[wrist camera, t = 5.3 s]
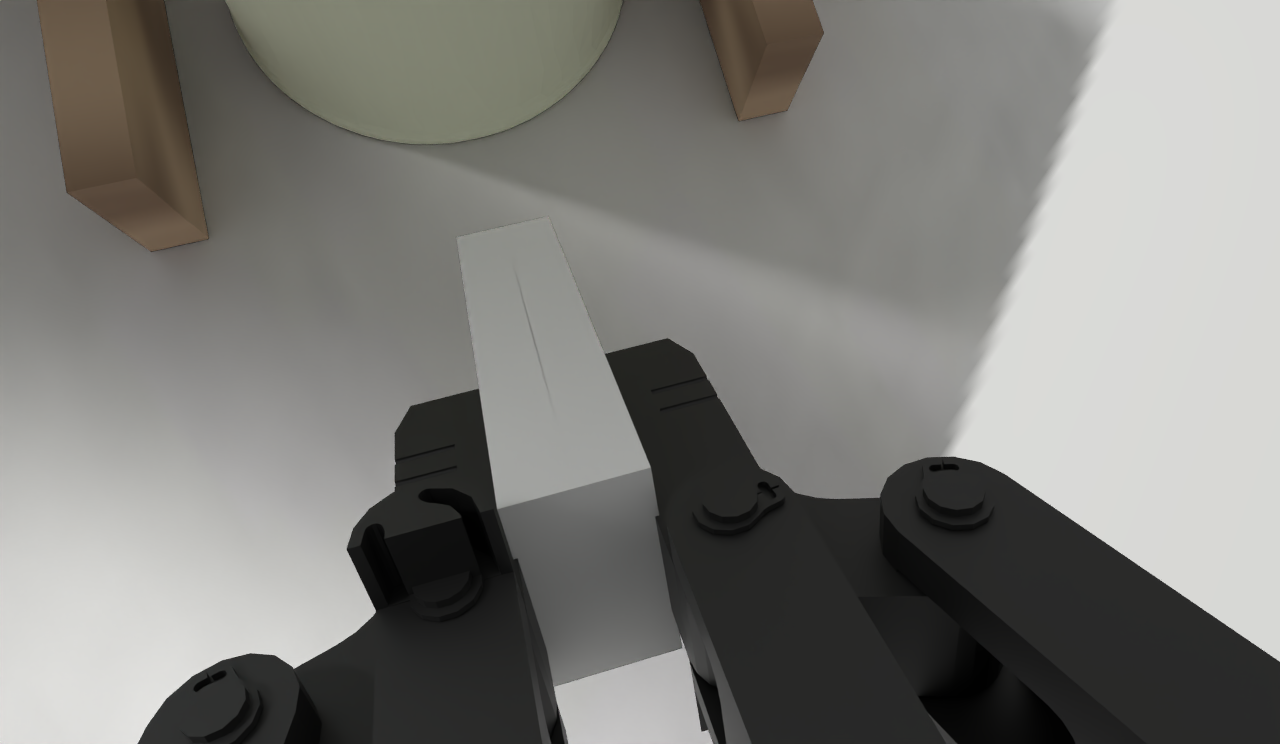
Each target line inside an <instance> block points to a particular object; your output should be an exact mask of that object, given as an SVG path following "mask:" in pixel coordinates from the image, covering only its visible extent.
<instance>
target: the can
mask: <svg viewBox="0 0 1280 744" xmlns="http://www.w3.org/2000/svg"><path fill="white" fill-rule="evenodd" d="M225 2H226V4H227V6H228V7H229V11H230V14H231V17H232V20H233V22H234V24H235V26H236V29H237V31H238V33H239V35H240V37H241V39H242V41H243V43H244V45H245V47H246V48H247V50H248V52H249V53H250V55H251V56H252V58H253V59H254V60H255V62H256V63H257V64H258V66H259V67H260V68H261V70H262V71H263V72H264V73H265V74H266V75H267V77H268V78H269V79H270V80H271V81H272V82H273V83H274V84H275V85H276V86H277V87H278V88H279V89H280V90H281V91H283V92H284V93H285V94H286V95H288V96H289V97H290V98H291V99H293V100H294V101H295V102H296V103H298V104H299V105H301V106H302V107H304V108H305V109H307V110H308V111H310V112H312V113H313V114H315V115H317V116H319V117H321V118H323V119H324V120H326V121H328V122H330V123H332V124H334V125H336V126H339V127H342V128H344V129H347V130H350V131H353V132H355V133H358V134H361V135H364V136H368V137H372V138H376V139H380V140H386V141H393V142H399V143H406V144H444V143H454V142H460V141H466V140H472V139H478V138H481V137H485V136H488V135H492V134H495V133H498V132H501V131H505V130H508V129H510V128H512V127H514V126H517V125H519V124H521V123H523V122H525V121H527V120H530V119H531V118H533V117H535V116H536V115H538V114H540V113H541V112H543V111H545V110H546V109H548V108H549V107H551V106H552V105H554V104H555V103H556V102H558V101H559V100H560V99H562V98H563V97H564V96H565V95H566V94H567V93H569V92H570V91H571V90H572V89H573V88H574V87H575V86H576V85H577V84H578V83H579V82H580V81H581V80H582V79H583V78H584V77H585V75H586V74H587V73H588V72H589V71H590V69H591V68H592V67H593V65H594V64H595V63H596V61H597V60H598V59H599V57H600V55H601V54H602V52H603V50H604V49H605V47H606V46H607V44H608V42H609V40H610V37H611V35H612V33H613V31H614V29H615V26H616V23H617V20H618V18H619V14H620V10H621V6H622V3H623V0H225Z"/></svg>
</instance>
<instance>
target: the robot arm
mask: <svg viewBox="0 0 1280 744" xmlns="http://www.w3.org/2000/svg"><path fill="white" fill-rule="evenodd" d="M456 240H457V246H458V253H459V259H460V266H461V273H462V279H463V286H464V293H465V299H466V306H467V313H468V319H469V326H470V332H471V339H472V346H473V352H474V359H475V366H476V372H477V379H478V385H479V389H476V390H472V391H468V392H464V393H460V394H456V395H453V396H449V397H445V398H441V399H437V400H433V401H429V402H425V403H421V404H417V405H413V406H411V407H410V408H409V410H408V412H407V413H406V415H405V417H404V418H403V420H402V422H401V424H400V425H399V427H398V429H397V430H396V432H395V462H396V465H395V484H396V487H395V492H393V493H392V494H390V495H389V496H387V497H386V498H384V499H383V500H381V501H380V502H379V503H377V504H376V505H374V506H373V507H371V508H370V509H369V510H368V511H367V513H366V514H365V515H364V516H363V517H362V519H361V520H360V521H359V522H358V523H357V525H356V526H355V527H354V528H353V531H352V534H351V537H350V540H349V543H348V546H347V551H348V553H349V555H350V557H351V559H352V561H353V564H354V566H355V568H356V570H357V572H358V574H359V576H360V578H361V580H362V582H363V584H364V587H365V589H366V591H367V593H368V595H369V597H370V599H371V601H372V603H373V605H374V607H375V610H376V613H375V614H374V616H373V617H372V618H371V619H370V620H369V621H368V622H366V623H365V624H364V625H363V626H362V627H361V628H360V629H359V630H358V631H357V632H356V633H354V634H353V635H351V636H350V637H348V638H347V639H345V640H344V641H342V642H341V643H339V644H338V645H336V646H334V647H332V648H331V649H329V650H327V651H325V652H323V653H322V654H320V655H318V656H316V657H315V658H313V659H311V660H309V661H307V662H306V663H304V664H302V665H300V666H298V667H297V668H295V669H293V667H292V666H290V665H289V664H287V663H286V662H284V661H283V660H281V659H279V658H278V657H276V656H275V655H263V654H251V653H250V654H246V655H242V656H238V657H234V658H230V659H226V660H222V661H220V662H218V663H216V664H215V665H213V666H211V667H209V668H207V669H205V670H203V671H202V672H200V673H198V674H196V675H194V676H192V677H191V678H190V679H189V680H188V681H187V682H185V683H184V684H183V685H182V686H181V687H180V688H179V689H177V690H176V691H175V692H174V693H173V694H172V695H170V696H169V697H168V698H167V699H166V700H165V702H164V703H163V704H162V706H161V707H160V709H159V710H158V711H157V713H156V714H155V716H154V717H153V718H152V720H151V721H150V723H149V724H148V725H147V727H146V729H145V731H144V733H143V735H142V737H141V738H140V740H139V742H138V744H568V740H567V735H566V730H565V727H564V724H563V721H562V718H561V715H560V712H559V709H558V705H557V702H556V697H555V691H554V686H558V685H561V684H564V683H568V682H571V681H574V680H578V679H581V678H584V677H588V676H591V675H594V674H598V673H601V672H604V671H607V670H611V669H614V668H617V667H621V666H624V665H627V664H631V663H634V662H637V661H641V660H644V659H647V658H651V657H654V656H657V655H661V654H664V653H667V652H671V651H674V650H677V649H680V648H682V643H681V638H680V635H681V637H682V640H683V643H684V646H685V648H686V651H687V654H688V657H689V660H690V665H691V671H692V677H693V683H694V689H695V695H696V701H697V707H698V713H699V719H700V725H701V731H705V730H709V733H710V736H711V739H712V741H713V744H1280V662H1279V661H1278V660H1276V659H1275V658H1273V657H1272V656H1270V655H1269V654H1267V653H1266V652H1265V651H1263V650H1262V649H1260V648H1259V647H1257V646H1256V645H1254V644H1253V643H1251V642H1250V641H1248V640H1247V639H1246V638H1244V637H1242V636H1241V635H1240V634H1238V633H1236V632H1235V631H1234V630H1232V629H1231V628H1229V627H1228V626H1226V625H1225V624H1224V623H1222V622H1221V621H1219V620H1218V619H1216V618H1215V617H1213V616H1212V615H1210V614H1209V613H1207V612H1206V611H1204V610H1203V609H1202V608H1200V607H1199V606H1197V605H1196V604H1194V603H1193V602H1191V601H1190V600H1188V599H1187V598H1185V597H1184V596H1182V595H1181V594H1180V593H1178V592H1177V591H1175V590H1174V589H1172V588H1171V587H1169V586H1168V585H1166V584H1165V583H1163V582H1162V581H1160V580H1159V579H1157V578H1156V577H1155V576H1153V575H1152V574H1150V573H1149V572H1147V571H1146V570H1144V569H1143V568H1141V567H1140V566H1138V565H1137V564H1135V563H1134V562H1133V561H1131V560H1130V559H1128V558H1127V557H1125V556H1124V555H1122V554H1121V553H1119V552H1118V551H1116V550H1115V549H1114V548H1112V547H1111V546H1109V545H1108V544H1106V543H1105V542H1103V541H1102V540H1100V539H1099V538H1097V537H1096V536H1095V535H1093V534H1092V533H1090V532H1089V531H1087V530H1085V529H1084V528H1083V527H1081V526H1080V525H1078V524H1077V523H1075V522H1074V521H1072V520H1071V519H1069V518H1068V517H1067V516H1065V515H1064V514H1062V513H1061V512H1059V511H1058V510H1056V509H1055V508H1053V507H1052V506H1051V505H1049V504H1047V503H1046V502H1044V501H1043V500H1042V499H1040V498H1039V497H1037V496H1036V495H1034V494H1033V493H1032V492H1030V491H1029V490H1027V489H1026V488H1024V487H1023V486H1021V485H1020V484H1018V483H1017V482H1015V481H1014V480H1012V479H1011V478H1009V477H1008V476H1007V475H1005V474H1003V473H1001V472H999V471H997V470H995V469H993V468H991V467H989V466H987V465H985V464H983V463H981V462H976V461H972V460H967V459H962V458H957V457H931V458H924V459H921V460H918V461H915V462H912V463H908V464H905V465H903V466H902V467H901V468H899V469H898V470H897V471H896V472H894V473H893V474H892V475H891V476H889V477H888V478H887V481H886V483H885V485H884V488H883V490H882V492H881V496H880V498H862V499H824V498H814V497H810V496H805V495H801V494H797V493H795V492H793V491H792V490H791V489H790V487H789V486H788V485H787V484H786V483H785V482H784V481H783V480H782V479H781V478H780V477H778V476H775V475H773V474H771V473H769V472H766V471H764V470H762V469H761V468H760V467H759V466H758V464H757V462H756V461H755V459H754V457H753V456H752V454H751V452H750V450H749V449H748V447H747V445H746V444H745V442H744V440H743V438H742V437H741V435H740V433H739V431H738V430H737V428H736V426H735V425H734V423H733V421H732V419H731V418H730V416H729V414H728V413H727V411H726V409H725V407H724V406H723V404H722V402H721V400H720V399H718V397H717V394H716V392H715V390H714V388H713V387H712V385H711V383H710V381H709V380H707V378H706V375H705V373H704V371H703V369H702V368H701V366H700V364H699V363H698V361H697V359H696V357H695V356H694V354H693V353H691V352H690V351H688V350H686V349H685V348H683V347H681V346H680V345H678V344H676V343H675V342H673V341H671V340H670V339H668V338H667V339H663V340H659V341H655V342H651V343H647V344H643V345H639V346H635V347H631V348H627V349H623V350H619V351H616V352H612V353H608V354H604V351H603V349H602V346H601V344H600V341H599V339H598V336H597V334H596V331H595V329H594V326H593V324H592V322H591V319H590V317H589V314H588V312H587V309H586V307H585V304H584V302H583V299H582V297H581V294H580V292H579V290H578V287H577V285H576V282H575V280H574V277H573V275H572V272H571V270H570V267H569V265H568V263H567V260H566V258H565V255H564V253H563V250H562V248H561V245H560V243H559V240H558V238H557V235H556V233H555V231H554V228H553V226H552V223H551V221H550V218H549V216H546V217H542V218H537V219H533V220H529V221H524V222H520V223H516V224H511V225H507V226H503V227H498V228H494V229H490V230H485V231H481V232H476V233H472V234H468V235H463V236H459V237H456ZM553 684H554V686H553Z"/></svg>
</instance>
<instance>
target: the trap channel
mask: <svg viewBox="0 0 1280 744" xmlns="http://www.w3.org/2000/svg"><path fill="white" fill-rule="evenodd" d="M700 3H701V7H702V10H703V13H704V16H705V19H706V22H707V25H708V28H709V31H710V34H711V37H712V40H713V44H714V47H715V50H716V53H717V56H718V59H719V62H720V65H721V68H722V71H723V74H724V77H725V81H726V84H727V87H728V90H729V93H730V96H731V99H732V102H733V105H734V108H735V111H736V114H737V118H738V121H741V120H746V119H750V118H755V117H759V116H764V115H768V114H773V113H777V112H782V111H786V110H788V108H789V105H790V103H791V101H792V99H793V97H794V95H795V93H796V91H797V89H798V86H799V84H800V82H801V80H802V78H803V76H804V74H805V72H806V69H807V67H808V65H809V63H810V61H811V59H812V57H813V55H814V53H815V50H816V48H817V46H818V44H819V42H820V40H821V38H822V36H823V34H824V31H823V29H822V26H821V23H820V20H819V17H818V14H817V12H816V9H815V6H814V3H813V0H700ZM37 5H38V11H39V18H40V24H41V31H42V37H43V44H44V50H45V56H46V63H47V69H48V76H49V82H50V89H51V95H52V101H53V108H54V114H55V121H56V127H57V133H58V140H59V146H60V153H61V159H62V166H63V172H64V178H65V185H66V191H67V193H68V194H70V195H71V196H72V197H74V198H75V199H77V200H78V201H79V202H81V203H82V204H84V205H85V206H87V207H88V208H89V209H91V210H92V211H94V212H95V213H97V214H98V215H99V216H101V217H102V218H104V219H105V220H107V221H108V222H109V223H111V224H112V225H114V226H115V227H116V228H118V229H119V230H121V231H122V232H124V233H125V234H126V235H128V236H129V237H131V238H132V239H134V240H135V241H136V242H138V243H139V244H141V245H142V246H144V247H145V248H146V249H148V250H149V251H151V252H152V251H156V250H161V249H165V248H170V247H174V246H179V245H183V244H188V243H192V242H197V241H201V240H206V239H209V237H208V232H207V227H206V221H205V216H204V211H203V205H202V200H201V195H200V189H199V184H198V179H197V173H196V168H195V163H194V158H193V152H192V147H191V142H190V136H189V131H188V126H187V120H186V115H185V110H184V104H183V99H182V94H181V88H180V83H179V78H178V72H177V67H176V62H175V57H174V51H173V46H172V41H171V35H170V30H169V25H168V19H167V14H166V9H165V3H164V0H37Z"/></svg>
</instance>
